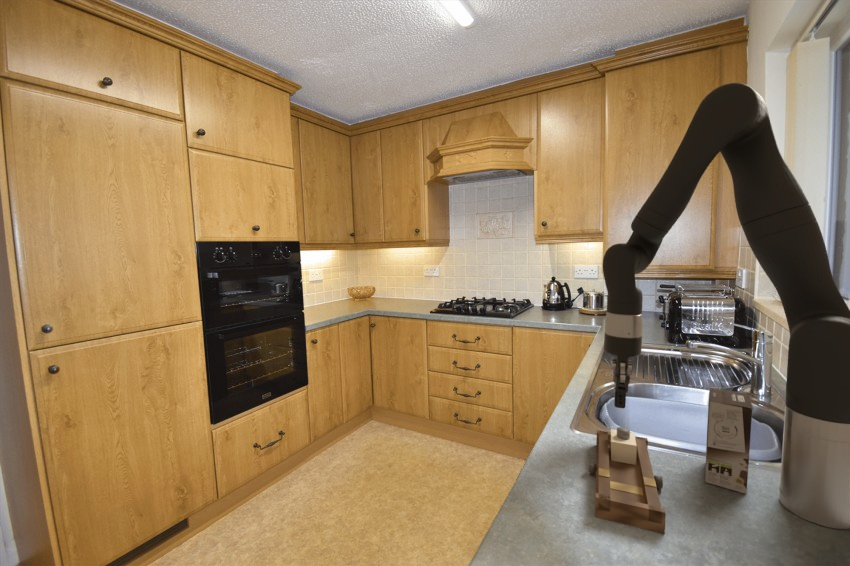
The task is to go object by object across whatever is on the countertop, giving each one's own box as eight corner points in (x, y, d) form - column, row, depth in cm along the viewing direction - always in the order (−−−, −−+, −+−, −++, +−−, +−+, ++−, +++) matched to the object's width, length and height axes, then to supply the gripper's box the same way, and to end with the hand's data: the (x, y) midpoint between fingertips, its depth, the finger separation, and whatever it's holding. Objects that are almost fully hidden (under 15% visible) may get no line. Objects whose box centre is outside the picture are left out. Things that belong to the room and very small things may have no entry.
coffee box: (748, 495, 70) (753, 408, 69) (704, 482, 74) (708, 400, 73) (745, 471, 77) (750, 392, 76) (705, 461, 81) (709, 386, 80)
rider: (633, 450, 83) (634, 425, 82) (636, 465, 77) (636, 438, 77) (610, 446, 85) (610, 421, 84) (611, 460, 79) (611, 433, 79)
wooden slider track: (653, 454, 84) (653, 438, 84) (673, 536, 61) (674, 513, 60) (590, 443, 89) (591, 428, 89) (587, 515, 66) (587, 494, 65)
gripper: (645, 340, 80) (641, 421, 82) (639, 328, 92) (635, 398, 94) (605, 337, 83) (601, 415, 85) (604, 325, 95) (601, 394, 97)
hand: (619, 406), depth 89 cm, fingers closed
